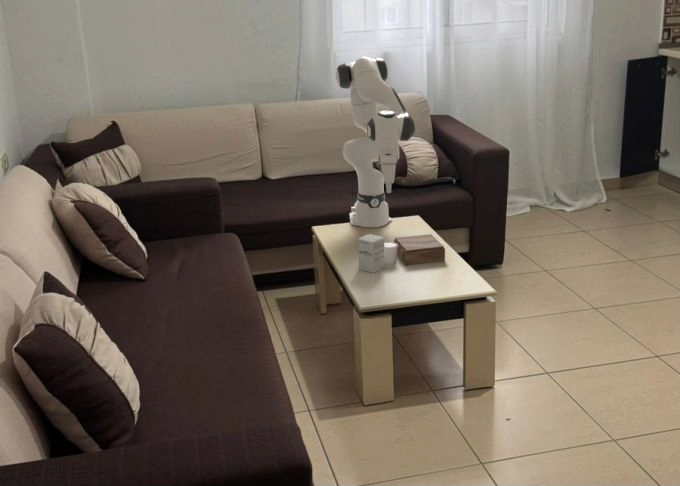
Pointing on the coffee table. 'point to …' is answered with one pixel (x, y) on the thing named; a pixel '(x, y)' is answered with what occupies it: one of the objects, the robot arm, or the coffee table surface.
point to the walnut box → (419, 249)
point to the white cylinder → (390, 252)
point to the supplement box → (371, 253)
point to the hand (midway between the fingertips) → (388, 189)
